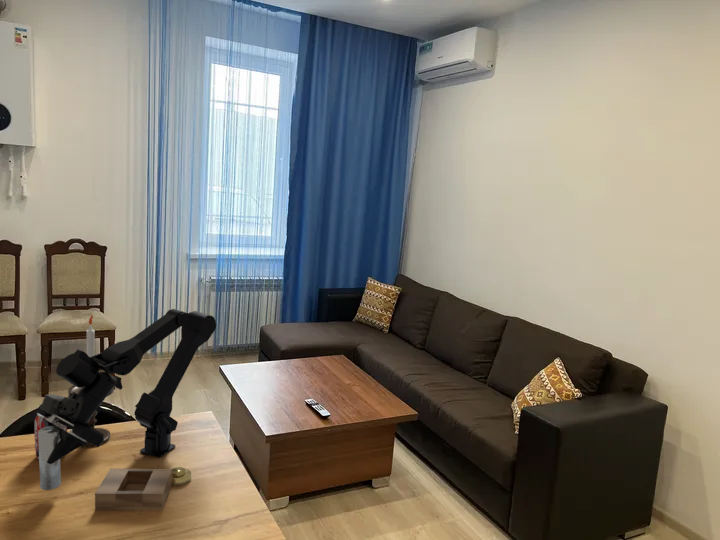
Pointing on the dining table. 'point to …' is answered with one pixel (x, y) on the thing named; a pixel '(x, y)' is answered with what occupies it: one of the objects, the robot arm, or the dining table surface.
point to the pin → (48, 472)
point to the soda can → (39, 425)
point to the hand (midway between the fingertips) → (43, 459)
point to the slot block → (134, 489)
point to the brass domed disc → (180, 476)
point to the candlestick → (75, 389)
